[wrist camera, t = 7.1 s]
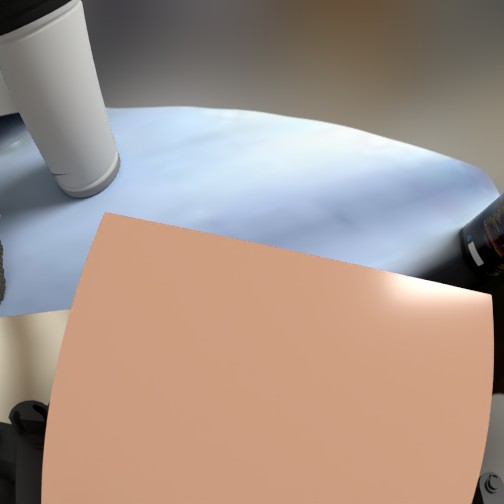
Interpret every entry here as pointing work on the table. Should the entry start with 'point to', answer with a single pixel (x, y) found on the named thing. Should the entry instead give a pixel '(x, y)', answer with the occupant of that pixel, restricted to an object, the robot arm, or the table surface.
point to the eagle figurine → (1, 275)
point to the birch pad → (29, 357)
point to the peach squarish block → (262, 378)
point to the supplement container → (485, 241)
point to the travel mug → (58, 91)
